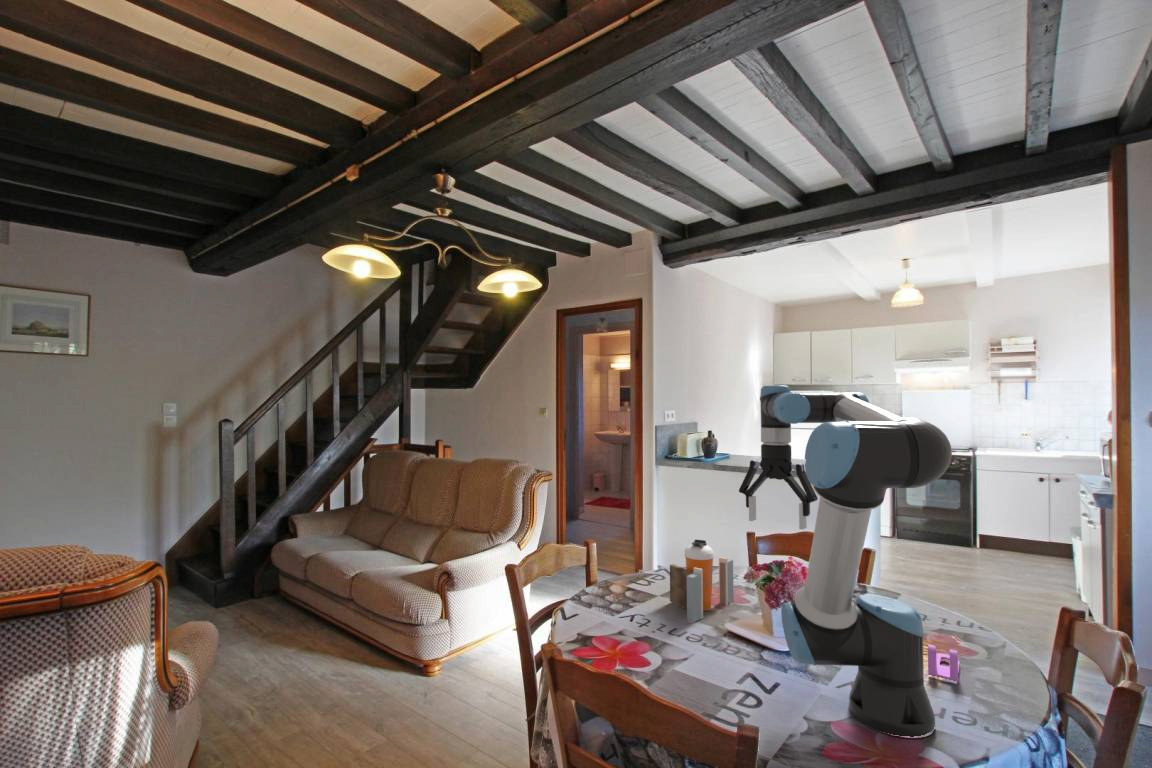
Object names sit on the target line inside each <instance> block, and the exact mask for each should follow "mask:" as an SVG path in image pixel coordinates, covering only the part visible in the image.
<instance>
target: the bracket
mask: <svg viewBox="0 0 1152 768" xmlns="http://www.w3.org/2000/svg"><path fill="white" fill-rule="evenodd" d="M941 659H948V660H950V664H949V663H948V664H949V665H948V666H945V665H942V664H941V665H940V662H941ZM941 663H942V662H941ZM959 664H960V660H959V652H958V650H955V649H949V654H946V653H940V652H939V653H938V652H937V645H933V644H928V647H927V672H928V673H927V675H932V676H937V677H941V678H945V679H949V680H953V681H957V682H958V683H959V677H958V673H959V674H960V668H959Z"/></svg>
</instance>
